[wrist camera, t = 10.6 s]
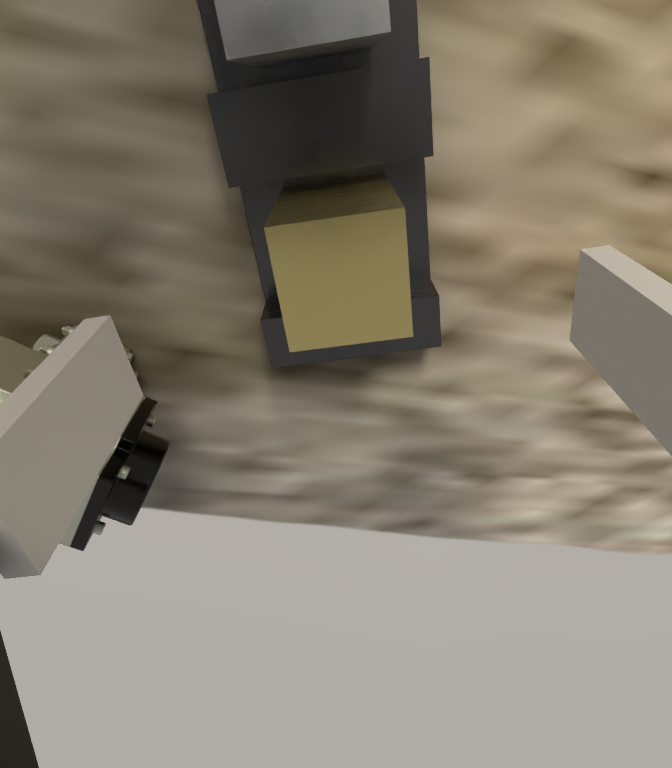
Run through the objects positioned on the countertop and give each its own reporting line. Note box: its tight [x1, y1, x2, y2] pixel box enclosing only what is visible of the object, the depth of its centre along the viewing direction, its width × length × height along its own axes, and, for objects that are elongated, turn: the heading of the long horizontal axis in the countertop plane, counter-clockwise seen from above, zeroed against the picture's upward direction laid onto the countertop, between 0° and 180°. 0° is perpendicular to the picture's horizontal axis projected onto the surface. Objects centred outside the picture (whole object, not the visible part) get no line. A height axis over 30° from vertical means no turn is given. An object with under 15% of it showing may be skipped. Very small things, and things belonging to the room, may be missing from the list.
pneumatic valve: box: [0, 325, 171, 551], centre depth 24 cm, size 6×12×12 cm, turn 61°
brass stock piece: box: [264, 173, 413, 352], centre depth 22 cm, size 5×5×8 cm
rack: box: [198, 0, 441, 368], centre depth 22 cm, size 22×9×3 cm, turn 8°
